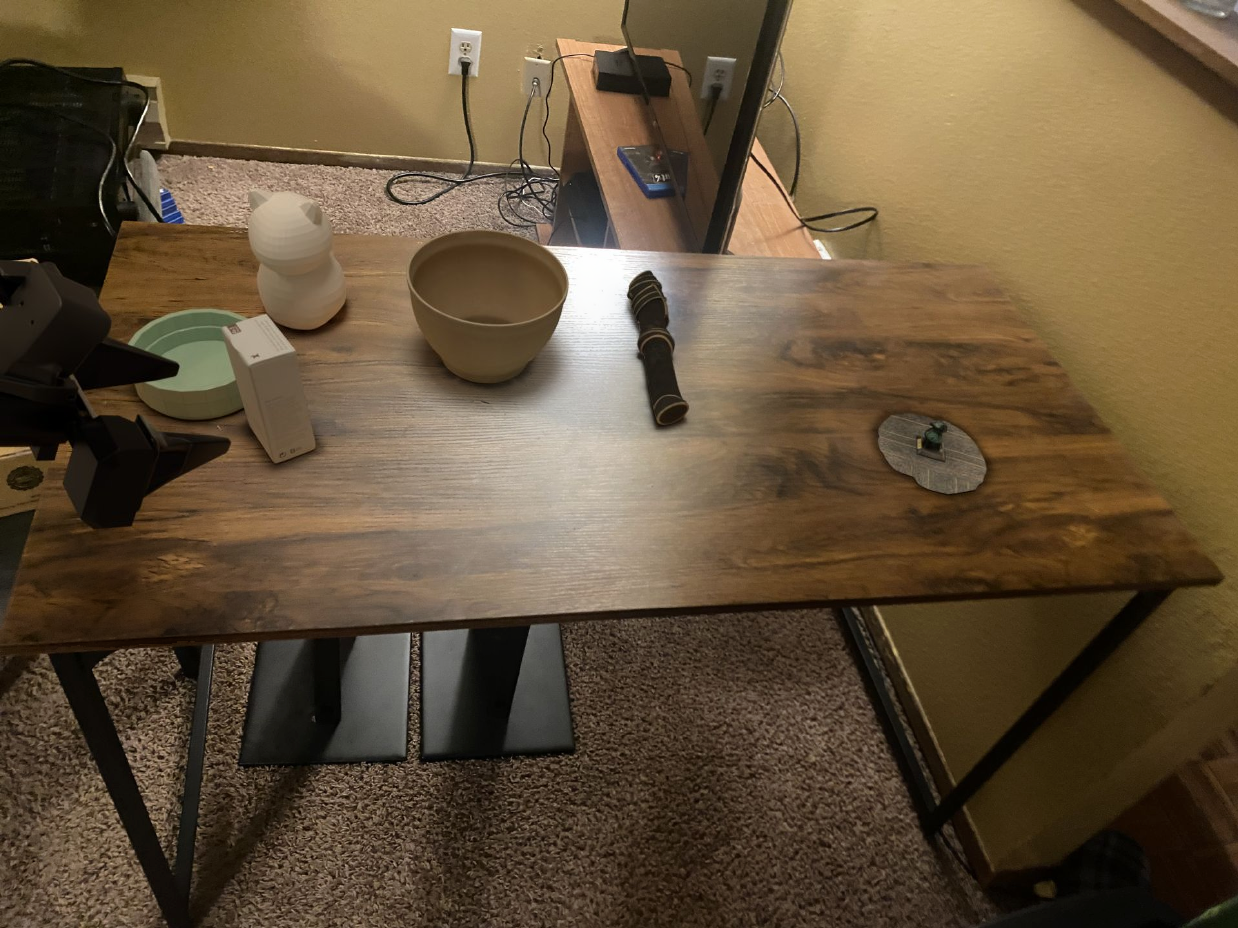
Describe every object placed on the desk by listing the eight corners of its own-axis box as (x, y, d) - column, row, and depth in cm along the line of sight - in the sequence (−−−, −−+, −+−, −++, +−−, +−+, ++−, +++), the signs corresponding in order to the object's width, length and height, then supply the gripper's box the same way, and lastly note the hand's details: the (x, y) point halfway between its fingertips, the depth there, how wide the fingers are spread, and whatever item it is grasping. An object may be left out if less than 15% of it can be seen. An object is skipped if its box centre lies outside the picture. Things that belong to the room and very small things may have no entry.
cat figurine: (245, 333, 88) (217, 206, 77) (291, 268, 97) (272, 145, 86) (329, 349, 88) (312, 225, 78) (368, 283, 97) (358, 163, 86)
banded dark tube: (698, 409, 86) (670, 266, 102) (651, 398, 84) (630, 255, 101) (681, 436, 89) (657, 293, 105) (635, 426, 87) (618, 283, 104)
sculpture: (857, 421, 94) (916, 375, 91) (891, 453, 100) (946, 411, 98) (914, 497, 86) (980, 449, 83) (946, 526, 92) (1009, 482, 90)
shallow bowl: (129, 426, 77) (117, 395, 75) (143, 342, 85) (132, 311, 82) (270, 417, 81) (264, 386, 78) (271, 336, 89) (265, 306, 86)
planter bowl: (406, 405, 85) (402, 320, 77) (413, 307, 95) (410, 224, 87) (564, 409, 88) (575, 328, 80) (553, 314, 98) (562, 234, 90)
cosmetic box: (318, 449, 79) (302, 350, 70) (272, 467, 77) (249, 367, 68) (289, 409, 82) (270, 310, 73) (244, 426, 80) (218, 325, 71)
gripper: (6, 378, 41) (298, 392, 53) (-87, 194, 49) (183, 242, 62) (-35, 547, 45) (244, 523, 57) (-114, 350, 53) (143, 367, 66)
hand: (202, 406), depth 60 cm, fingers open, 9 cm apart
